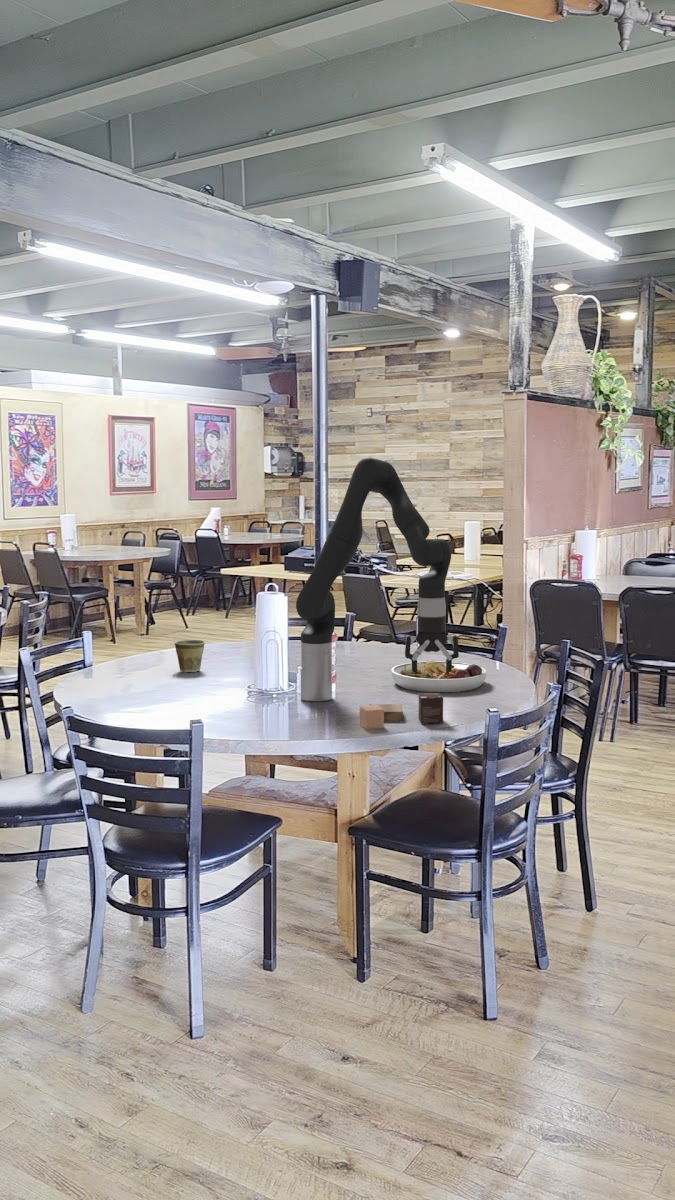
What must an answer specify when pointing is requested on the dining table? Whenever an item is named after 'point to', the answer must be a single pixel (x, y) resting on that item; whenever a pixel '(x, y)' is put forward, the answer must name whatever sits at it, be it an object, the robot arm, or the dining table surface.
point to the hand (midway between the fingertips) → (431, 673)
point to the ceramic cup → (189, 654)
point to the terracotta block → (371, 717)
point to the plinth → (391, 711)
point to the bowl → (439, 677)
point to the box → (430, 708)
